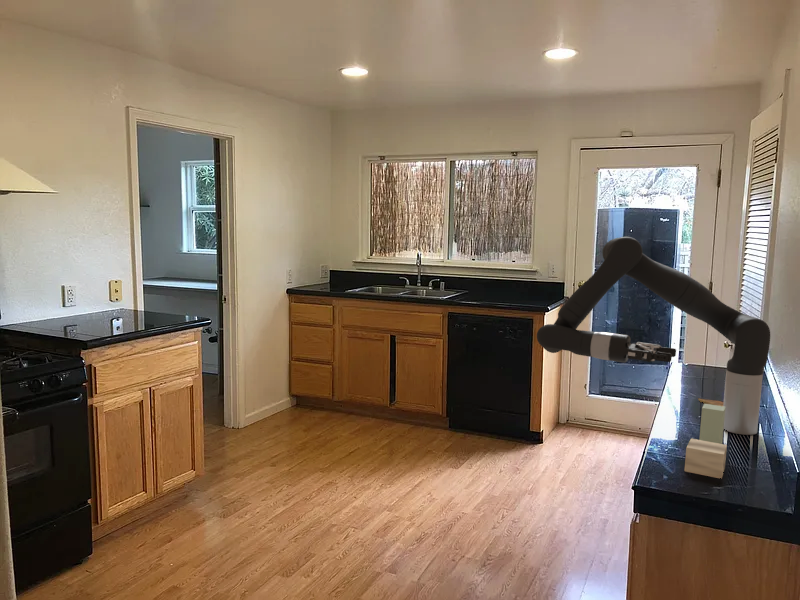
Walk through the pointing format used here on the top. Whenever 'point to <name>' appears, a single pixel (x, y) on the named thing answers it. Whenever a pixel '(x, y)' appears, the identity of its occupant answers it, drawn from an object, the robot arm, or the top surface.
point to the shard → (711, 402)
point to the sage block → (712, 423)
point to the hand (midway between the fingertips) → (673, 355)
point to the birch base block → (705, 458)
